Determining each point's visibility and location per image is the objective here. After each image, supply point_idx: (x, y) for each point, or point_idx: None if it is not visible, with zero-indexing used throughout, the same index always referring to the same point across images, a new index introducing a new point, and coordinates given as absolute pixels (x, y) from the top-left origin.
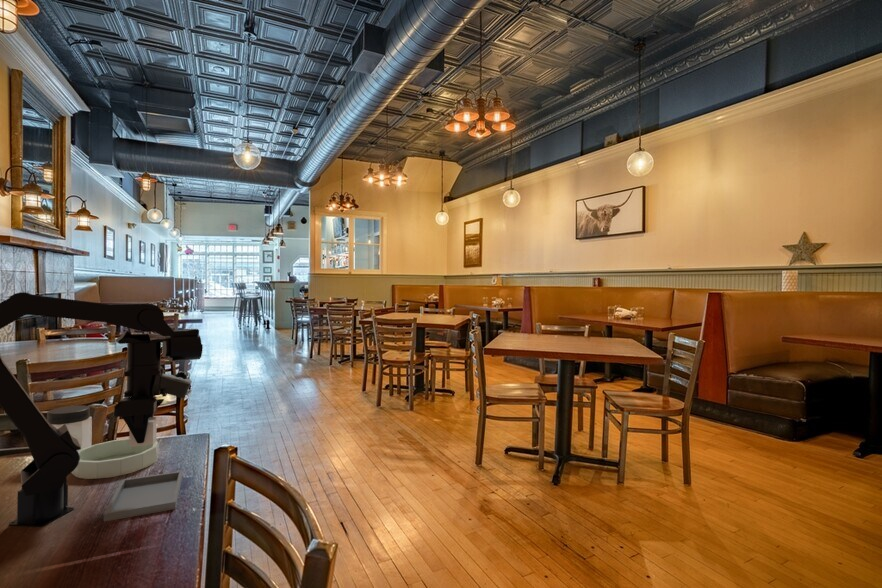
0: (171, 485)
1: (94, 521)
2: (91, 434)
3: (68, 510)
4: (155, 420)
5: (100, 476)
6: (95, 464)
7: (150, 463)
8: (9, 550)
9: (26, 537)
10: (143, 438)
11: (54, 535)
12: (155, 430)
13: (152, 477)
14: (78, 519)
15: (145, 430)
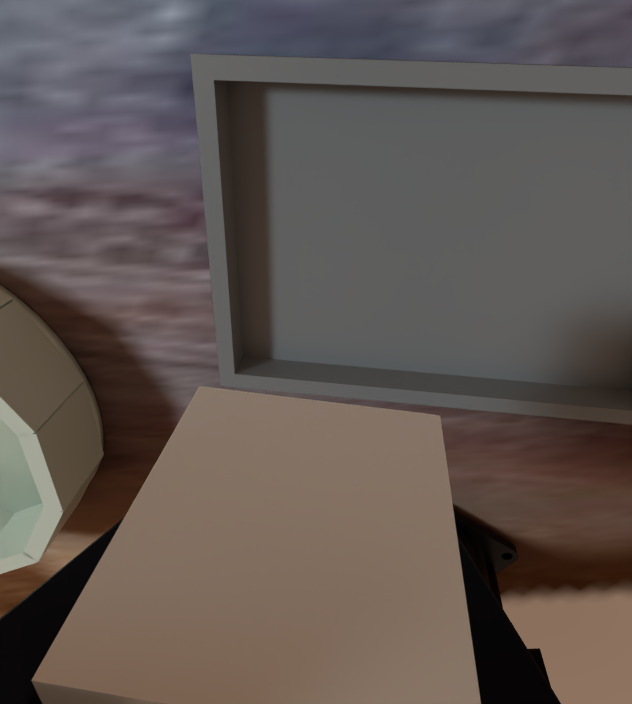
0: (342, 123)
1: (577, 426)
2: None
3: None
4: (204, 660)
5: (98, 449)
6: (66, 508)
7: None
8: (628, 588)
9: (557, 567)
10: (469, 566)
11: (609, 516)
12: (239, 486)
13: (226, 248)
14: (509, 470)
15: (544, 681)
